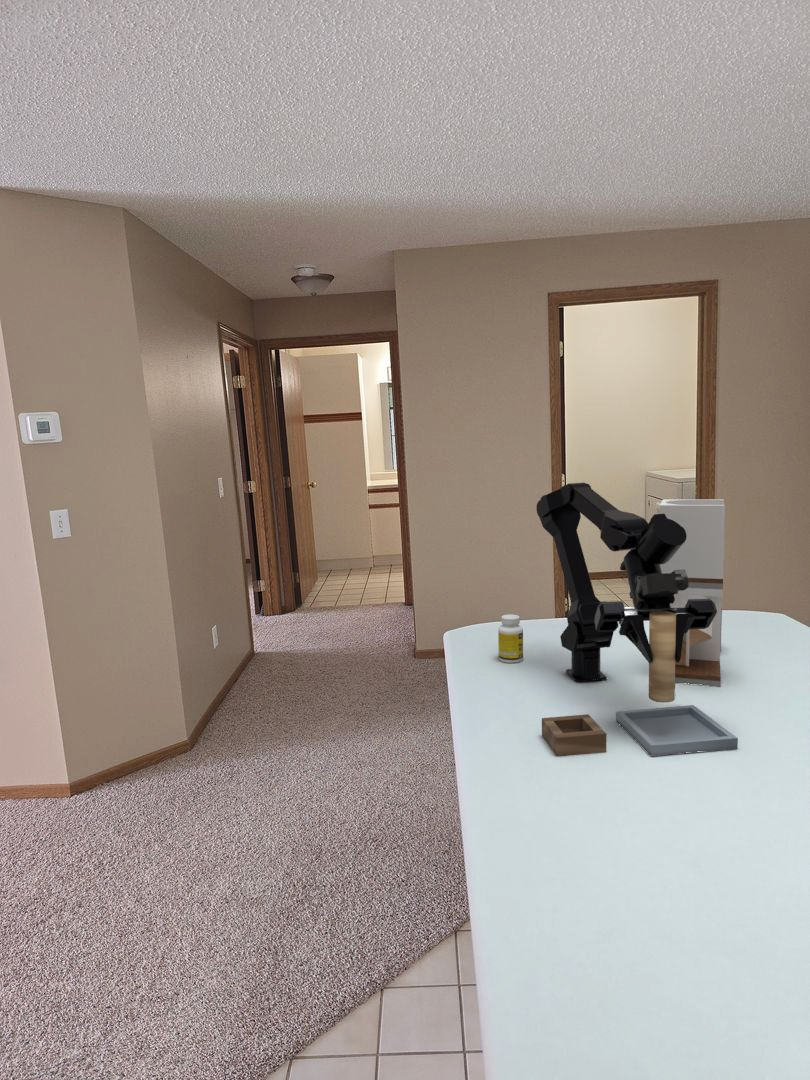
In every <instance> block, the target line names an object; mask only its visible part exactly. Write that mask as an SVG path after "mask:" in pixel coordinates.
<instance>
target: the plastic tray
mask: <svg viewBox="0 0 810 1080" xmlns="http://www.w3.org/2000/svg"><path fill="white" fill-rule="evenodd" d="M615 722H616V723H617V724H618V725H619V724H620V725H619V726H620V727H621V728H622V727H623V728H624V729H625V730H626V731H627V732H628V733H629V734H630V735H631V736H632V737H633V738H634V739H635V740H636V741H637V742H638V743H639V744H640V745H641V746H642V747H643V748H644V749H645V750H646V751H647V752H648V753H649V754H650V755H651V756H654V757H659V756H658V755H665V756H670V755H669V754H676V755H679V754H678V753H686V752H697V751H710V752H719V751H720V750H721V751H729V750H738V749H739V748H738V743H739V738H738V736H736V735H735V734H734V733H732V732H730V731H729V730H728V729H727V728H725V727H723V726H722V724H720V723H718V722H717V721H716V720H715V719H713V718H711V717H710V716H709V715H707V714H706V713H705V712H704V711H702V710H701V709H699V708H698V707H697V706H695V705H694V704H691V705H677V706H667V707H652V708H641V709H630V710H619V711H617V710H616V711H615ZM623 728H622V729H623ZM624 729H623V730H624ZM625 730H624V731H625ZM626 731H625V732H626ZM627 732H626V733H627ZM628 733H627V734H628ZM629 734H628V735H629ZM630 735H629V736H630ZM631 736H630V737H631ZM632 737H631V738H632ZM633 738H632V739H633ZM634 739H633V740H634ZM635 740H634V741H635ZM636 741H635V742H636ZM637 742H636V743H637ZM638 743H637V744H638ZM639 744H638V745H639ZM640 745H639V746H640ZM641 746H640V747H641ZM642 747H641V748H642ZM643 748H642V749H643ZM644 749H643V750H644ZM645 750H644V751H645ZM646 751H645V752H646ZM647 752H646V753H647ZM648 753H647V754H648ZM649 754H648V755H649ZM650 755H649V756H650ZM651 756H650V757H651Z"/></svg>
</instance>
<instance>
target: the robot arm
mask: <svg viewBox="0 0 810 1080" xmlns="http://www.w3.org/2000/svg"><path fill="white" fill-rule="evenodd" d="M536 514H537V516H538V518H539V520H540V522H541V526H542V527H543V529H544V530H545V531H546V532H547V533H548V534H549V535H551V537H552V538H553V540H554V544H555V548H556V551H557V556H558V560H559V562H560V567H561V569H562V570H561V571H562V573H563V574H562V575H563V577H564V580H565V585H566V588H567V589H566V590H567V592H568V596H569V599H570V606H569V609H568V612H567V615H566V621H567V626H566V627H565V629H564V630H563V631H562V633H561V635H560V643H561V647H562V648H565V649H566V650H567V651H570V652H571V653H570V655H571V668H570V669H569V668H568V669H565V673H566V674H567V675H568V676H569V677H570V678H571V679H572V680H573V681H574V682H576V683H581V682H592V681H603V680H604V681H605V680H607V679H608V678H607V676H606V675H605V674H604V673H603V672H602V671H601V649H602V648H611V644H612V640H613V637H614V632H615V631H616V630H617V629H618V628H619V626H620V628H619V631H618V633H619V635H620V636H625V637H626V638H627V639H628V640H629V641H630V642H631V643H632V645H634V646H635V647H636V649H637V650H638V651H639V652H640V653H641V654H642V656H643V658H645V660H646V661H647V663H648V664H649V663H652V661H653V658H652V652H651V649H650V645H649V638H648V636H647V633H646V629H645V623H644V622H646V621H647V622H649V616H650V613H651V612H655V611H667V612H672V613H675V614H676V647H675V660H676V662H679V661H680V659H681V652H682V643H683V636H684V633H687V632H688V630H689V629H705V628H708V627H709V626H710V624H711V622H712V620H713V618H714V617H715V615H716V613H717V609H716V606H715V603H714V602H713V601H712V600H710V599H688V601H687V603H686V605H685V607H684V608H671V607H670V603H674V600H675V598H674V594H678V591H682V590H685V589H687V588H688V586H689V583H688V577H687V574H686V571H685V569H684V570H674V571H673V572H672V573H663V574H662V571H661V567H660V564H665V563H667V562H668V561H669V560H670V559H671V558H672V556H673V555H674V554H675V553H676V552H677V550H678V549H679V548H680V547H681V546H682V545H683V543H684V542H685V541H686V537H687V536H686V532H685V529H684V528H683V527H681V526H680V525H679V524H678V523H677V522H675V521H673V520H671V519H668V518H667V517H666V515H665V514H664V513H663V514H660V513H655V514H653V515H652V516H651V518H650V520H649V522H648V521H647V520H646V519H645V518H644V517H642V516H640V515H637V514H635V513H632V512H628V511H622V510H620V509H618V508H617V507H616V506H614V505H612V504H611V503H610V502H609V501H608V500H606V499H605V498H604V497H602V495H600V494H598V492H596V491H595V490H594V489H592V486H591V485H590V484H589V483H586V482H573V483H572V482H571V483H567V484H565V485H563V486H562V487H560V488H559V489H556V490H554V491H552V492H549V493H546V494H545V495H542V496H541V498H540V499H539V500H538V502H537V503H536ZM581 515H582V516H584V518H586V519H587V520H588V521H590V522H591V523H592V524H593V525H594V526H596V527H597V529H598V530H599V531H600V539H601V540H602V542H603V543H604V544H605V545H606V546H607V548H608V549H609V550H610V551H611V552H622V551H628V552H627V553H626V554H625V556H624V557H623V561H621V563H620V567H619V570H620V571H623V572H624V571H625V572H626V577H627V580H628V585H629V590H630V591H629V598H630V599H631V600H632V604H633V606H625V605H624V604H625V603H624V602H623V601H622V600H620V601H619V600H617V601H601V600H600V599H598V598H597V596H596V594H595V591H594V587H593V584H592V580H591V577H590V574H589V570H588V566H587V562H586V559H585V555H584V552H583V548H582V545H581V541H580V537H579V534H578V527H579V525H580V522H581V518H582V516H581Z"/></svg>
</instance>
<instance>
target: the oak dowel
mask: <svg viewBox="0 0 810 1080" xmlns="http://www.w3.org/2000/svg"><path fill="white" fill-rule="evenodd" d="M648 622H649V625H648V627H649V630H648V634H649V635H648V636H649V637H648V642H649V645H650V649H651V652H652V658H653V661H652V663H649V662H648V699H650V701H653V702H656V703H662V704H663V703H665V704H666V703H673V702H674V701H675V699H676V698H675V697H676V696H675V695H676V694H675V692H676V691H675V690H676V683H675V647H676V614H675V613H672V612H667V611H655V612H651V613H650V616H649V621H648Z"/></svg>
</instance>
